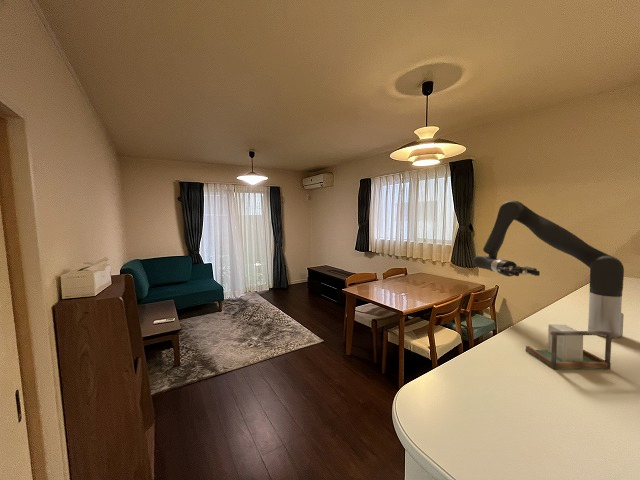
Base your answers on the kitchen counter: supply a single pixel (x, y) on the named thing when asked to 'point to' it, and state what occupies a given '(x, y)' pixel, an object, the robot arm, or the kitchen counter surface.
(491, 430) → the kitchen counter surface
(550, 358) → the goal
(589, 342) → the kitchen counter surface
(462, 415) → the kitchen counter surface
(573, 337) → the small box
